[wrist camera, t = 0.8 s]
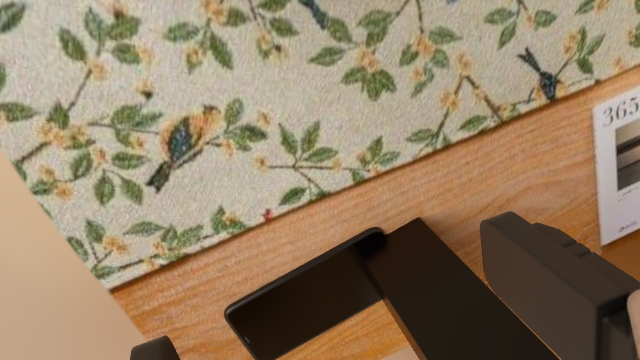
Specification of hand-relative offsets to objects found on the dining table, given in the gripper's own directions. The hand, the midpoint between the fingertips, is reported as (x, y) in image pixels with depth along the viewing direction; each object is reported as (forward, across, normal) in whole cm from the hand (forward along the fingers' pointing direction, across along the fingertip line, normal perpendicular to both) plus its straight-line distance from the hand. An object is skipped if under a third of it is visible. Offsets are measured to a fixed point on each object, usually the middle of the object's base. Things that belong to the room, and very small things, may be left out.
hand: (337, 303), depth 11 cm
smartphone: (+26, -1, +20) cm, 33 cm away
